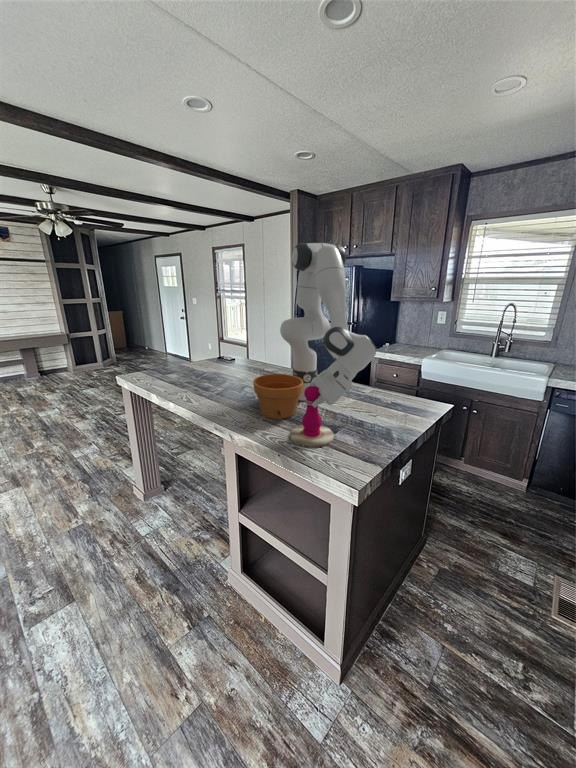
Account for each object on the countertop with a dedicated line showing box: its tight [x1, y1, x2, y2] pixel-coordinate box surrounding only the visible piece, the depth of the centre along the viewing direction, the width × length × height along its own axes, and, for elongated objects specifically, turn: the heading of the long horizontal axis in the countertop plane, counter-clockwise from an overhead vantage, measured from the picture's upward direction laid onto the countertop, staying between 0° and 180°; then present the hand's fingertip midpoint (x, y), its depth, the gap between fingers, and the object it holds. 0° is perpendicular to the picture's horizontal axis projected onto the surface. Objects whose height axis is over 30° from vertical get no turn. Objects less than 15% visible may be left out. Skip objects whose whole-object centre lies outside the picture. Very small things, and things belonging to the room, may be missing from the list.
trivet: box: [289, 424, 335, 448], centre depth 119 cm, size 16×16×1 cm
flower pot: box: [252, 373, 303, 420], centre depth 138 cm, size 21×21×15 cm
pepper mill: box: [301, 382, 323, 437], centre depth 116 cm, size 7×7×20 cm
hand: (310, 401), depth 115 cm, fingers open, 6 cm apart
